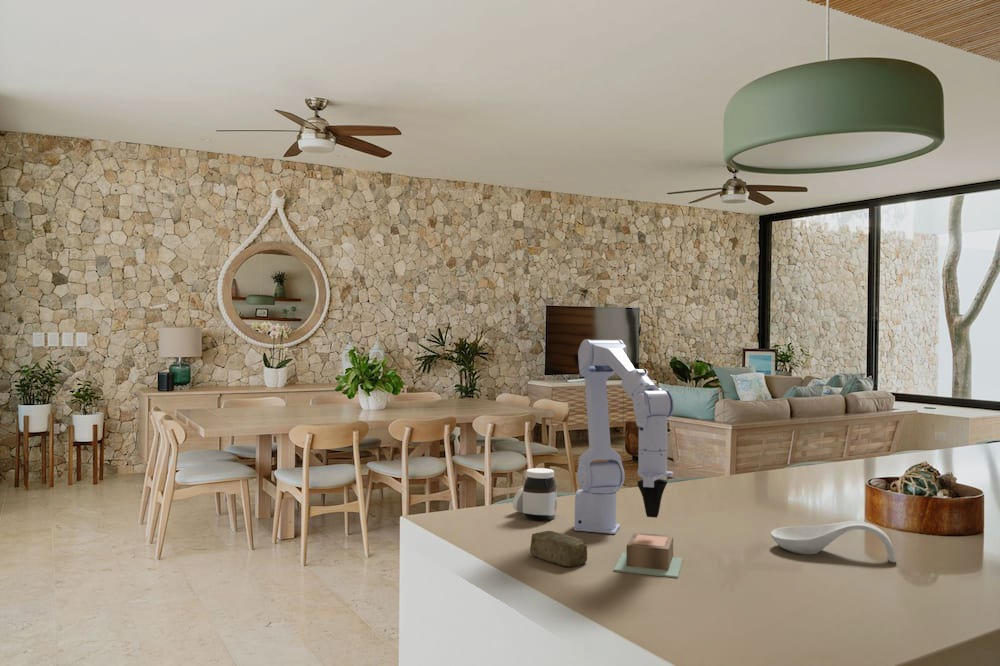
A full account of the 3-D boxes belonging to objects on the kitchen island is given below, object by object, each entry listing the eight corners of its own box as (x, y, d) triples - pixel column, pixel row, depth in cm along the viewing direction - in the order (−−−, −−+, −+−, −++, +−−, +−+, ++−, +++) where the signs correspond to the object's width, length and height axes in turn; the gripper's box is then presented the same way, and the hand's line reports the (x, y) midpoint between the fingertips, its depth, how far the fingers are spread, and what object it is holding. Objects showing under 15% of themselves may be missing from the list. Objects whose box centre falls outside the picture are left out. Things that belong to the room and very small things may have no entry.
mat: (613, 571, 141) (613, 569, 141) (623, 553, 153) (623, 552, 153) (677, 577, 138) (677, 576, 138) (682, 559, 149) (682, 558, 149)
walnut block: (633, 551, 153) (626, 565, 144) (633, 532, 153) (626, 545, 144) (673, 555, 151) (668, 570, 141) (673, 535, 151) (668, 548, 141)
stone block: (569, 570, 142) (569, 544, 142) (527, 557, 151) (527, 532, 151) (589, 564, 146) (589, 538, 146) (547, 551, 155) (547, 527, 155)
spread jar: (549, 523, 177) (549, 475, 177) (504, 519, 181) (505, 471, 181) (561, 512, 189) (562, 466, 189) (519, 508, 192) (519, 464, 192)
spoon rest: (769, 555, 154) (769, 520, 154) (771, 540, 165) (771, 508, 165) (898, 569, 145) (898, 532, 145) (891, 553, 156) (891, 519, 156)
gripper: (669, 455, 142) (669, 526, 142) (676, 445, 156) (675, 510, 156) (632, 453, 144) (632, 523, 144) (642, 443, 158) (641, 507, 158)
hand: (652, 516), depth 150 cm, fingers closed
